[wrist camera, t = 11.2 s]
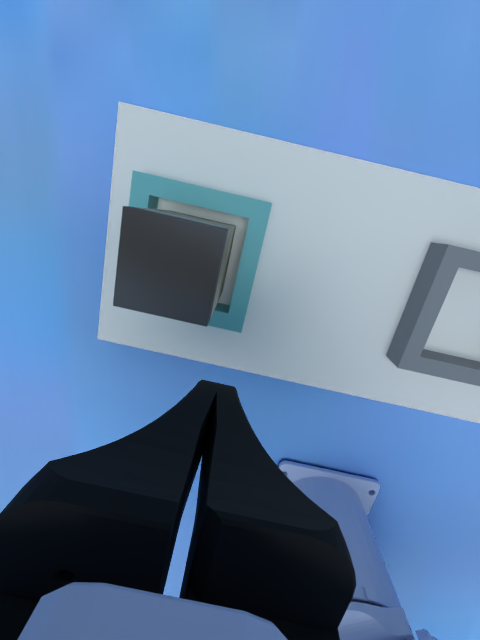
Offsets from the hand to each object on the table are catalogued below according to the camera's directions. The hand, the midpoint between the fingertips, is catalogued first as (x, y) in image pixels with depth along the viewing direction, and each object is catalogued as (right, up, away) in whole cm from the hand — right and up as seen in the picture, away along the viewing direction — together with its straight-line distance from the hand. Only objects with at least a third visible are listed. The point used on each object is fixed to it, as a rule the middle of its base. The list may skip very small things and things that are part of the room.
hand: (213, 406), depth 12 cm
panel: (+7, +6, +9) cm, 13 cm away
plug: (-2, +7, +8) cm, 11 cm away
